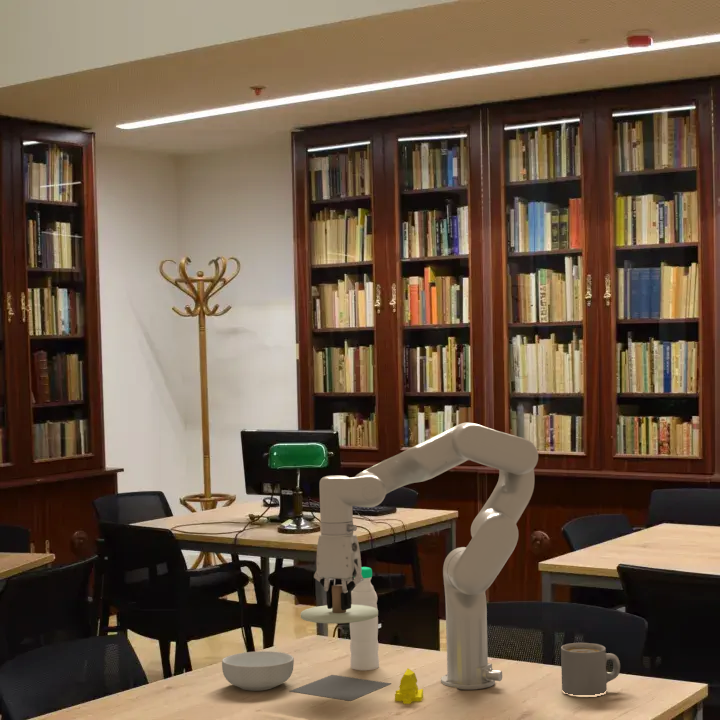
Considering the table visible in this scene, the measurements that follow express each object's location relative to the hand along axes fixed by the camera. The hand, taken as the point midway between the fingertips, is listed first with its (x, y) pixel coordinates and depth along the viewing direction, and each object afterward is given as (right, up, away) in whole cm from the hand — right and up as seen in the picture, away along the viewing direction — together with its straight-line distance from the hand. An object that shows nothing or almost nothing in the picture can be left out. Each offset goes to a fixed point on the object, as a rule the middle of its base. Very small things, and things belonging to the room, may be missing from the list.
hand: (339, 607), depth 273 cm
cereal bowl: (-19, -20, +3) cm, 28 cm away
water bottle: (+6, -19, +19) cm, 28 cm away
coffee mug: (+57, -18, -7) cm, 60 cm away
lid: (0, -2, 0) cm, 2 cm away
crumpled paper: (+16, -19, -11) cm, 27 cm away
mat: (0, -19, 0) cm, 19 cm away
